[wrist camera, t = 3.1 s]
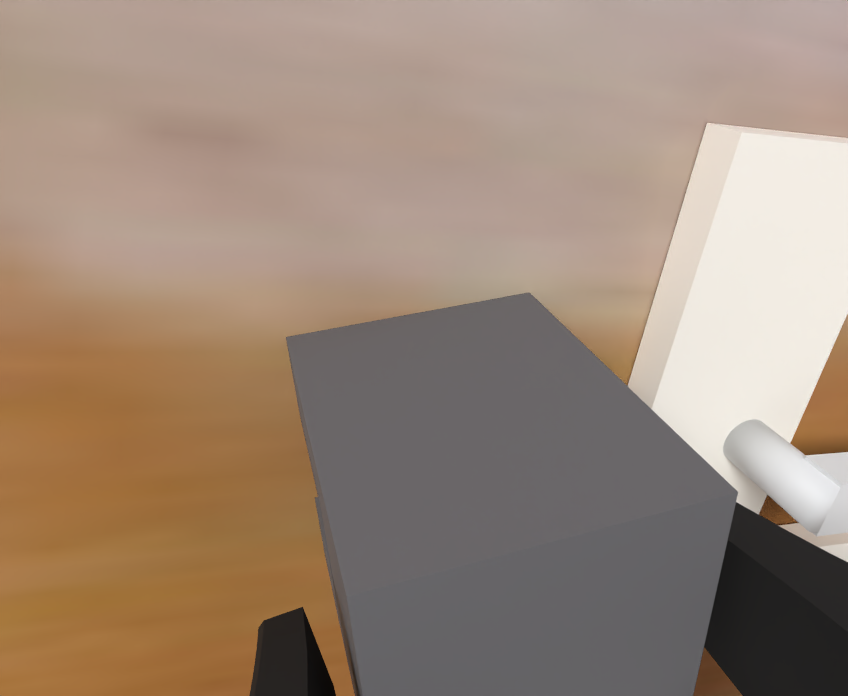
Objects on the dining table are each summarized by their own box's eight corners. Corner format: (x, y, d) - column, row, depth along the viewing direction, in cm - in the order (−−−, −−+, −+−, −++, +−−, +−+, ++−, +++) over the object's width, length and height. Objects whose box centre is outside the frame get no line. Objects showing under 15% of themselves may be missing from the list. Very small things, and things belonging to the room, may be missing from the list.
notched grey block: (285, 334, 13) (346, 595, 7) (527, 291, 14) (738, 492, 8) (324, 554, 16) (390, 860, 10) (523, 503, 17) (679, 756, 11)
